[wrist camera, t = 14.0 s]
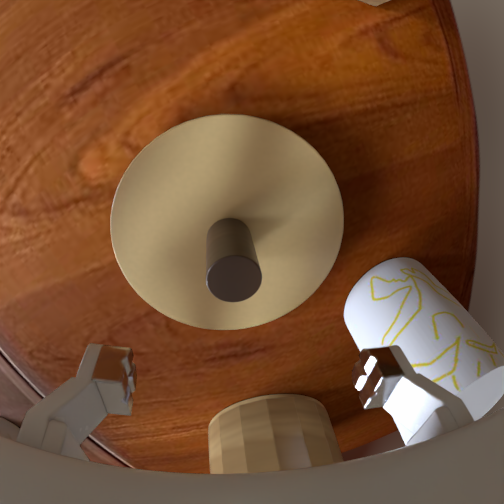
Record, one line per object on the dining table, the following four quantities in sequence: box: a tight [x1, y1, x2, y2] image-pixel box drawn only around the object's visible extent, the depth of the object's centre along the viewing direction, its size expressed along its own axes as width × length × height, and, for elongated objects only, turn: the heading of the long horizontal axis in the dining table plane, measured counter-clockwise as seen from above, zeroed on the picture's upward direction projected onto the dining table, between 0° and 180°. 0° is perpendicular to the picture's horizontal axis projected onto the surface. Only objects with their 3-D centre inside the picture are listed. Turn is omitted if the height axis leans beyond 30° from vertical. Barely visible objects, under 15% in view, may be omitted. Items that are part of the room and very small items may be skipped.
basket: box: [208, 394, 344, 474], centre depth 27 cm, size 13×13×10 cm
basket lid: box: [111, 114, 344, 330], centre depth 17 cm, size 14×14×6 cm
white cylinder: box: [344, 257, 504, 445], centre depth 19 cm, size 8×8×12 cm
